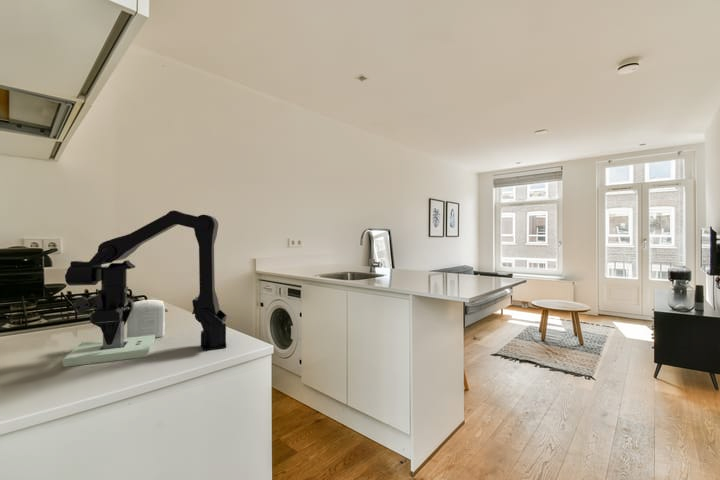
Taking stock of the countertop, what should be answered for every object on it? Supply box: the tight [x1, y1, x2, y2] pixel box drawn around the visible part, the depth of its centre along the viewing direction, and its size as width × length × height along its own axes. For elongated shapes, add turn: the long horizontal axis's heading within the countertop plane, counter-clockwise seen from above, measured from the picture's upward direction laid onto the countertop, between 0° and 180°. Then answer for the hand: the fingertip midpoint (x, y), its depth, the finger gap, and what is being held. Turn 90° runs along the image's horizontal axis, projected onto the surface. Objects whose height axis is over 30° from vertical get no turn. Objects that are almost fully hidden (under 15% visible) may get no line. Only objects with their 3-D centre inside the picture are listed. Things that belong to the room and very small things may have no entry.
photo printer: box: [126, 299, 166, 338], centre depth 105 cm, size 10×4×12 cm, turn 123°
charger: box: [102, 321, 125, 350], centre depth 92 cm, size 4×4×8 cm
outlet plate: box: [62, 335, 156, 368], centre depth 93 cm, size 18×16×2 cm
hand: (113, 339), depth 92 cm, fingers open, 9 cm apart
